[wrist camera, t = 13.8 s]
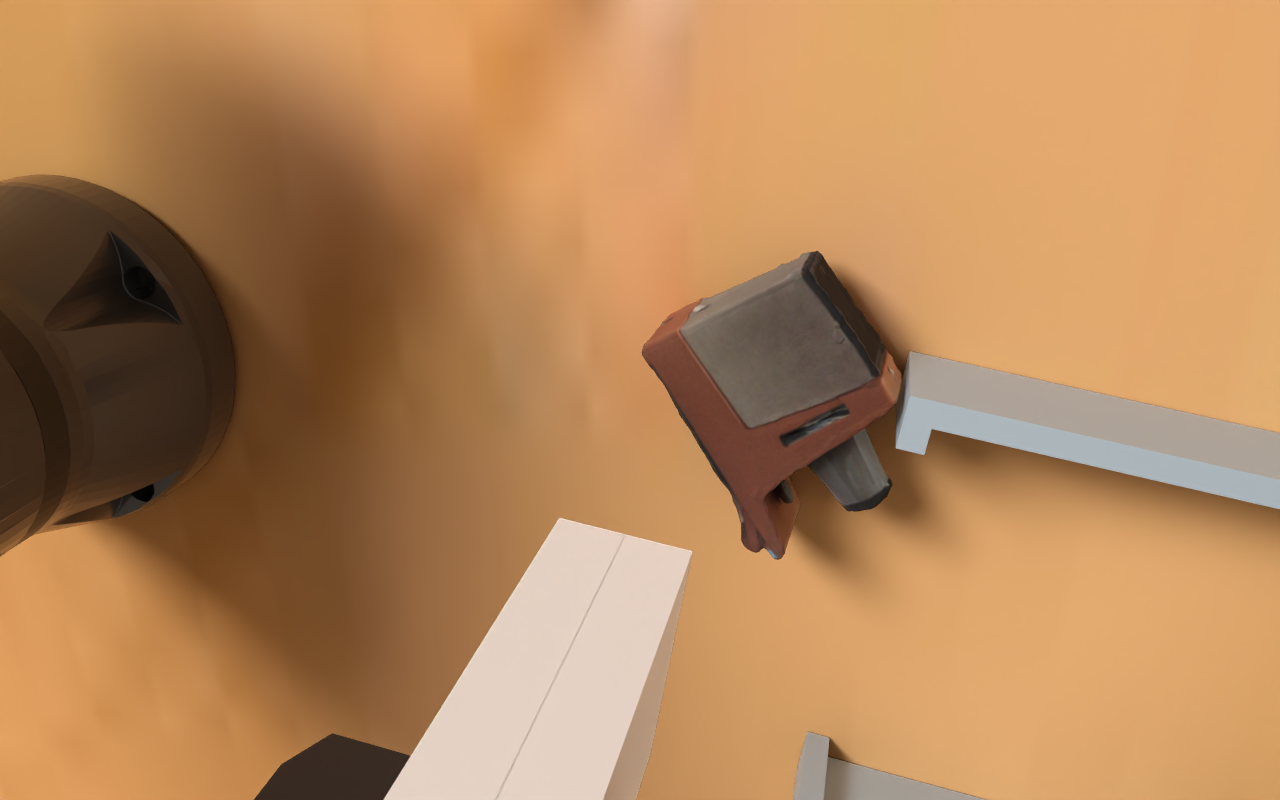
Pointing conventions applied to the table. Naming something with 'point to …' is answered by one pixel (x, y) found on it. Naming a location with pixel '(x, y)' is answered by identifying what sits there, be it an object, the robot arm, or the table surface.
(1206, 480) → the walled box
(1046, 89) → the table surface
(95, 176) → the table surface
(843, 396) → the electronic device
